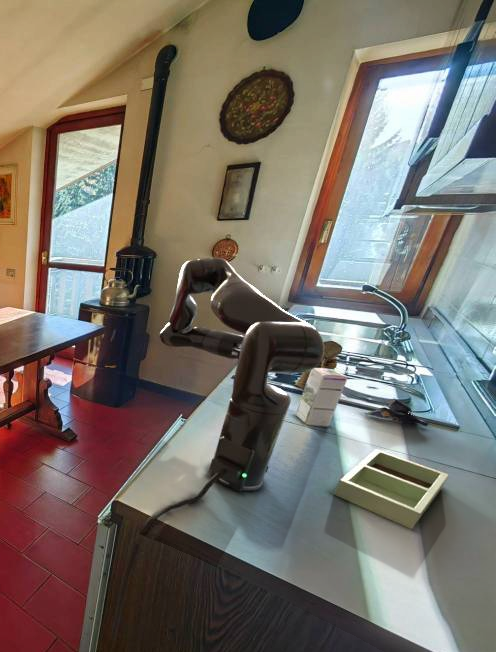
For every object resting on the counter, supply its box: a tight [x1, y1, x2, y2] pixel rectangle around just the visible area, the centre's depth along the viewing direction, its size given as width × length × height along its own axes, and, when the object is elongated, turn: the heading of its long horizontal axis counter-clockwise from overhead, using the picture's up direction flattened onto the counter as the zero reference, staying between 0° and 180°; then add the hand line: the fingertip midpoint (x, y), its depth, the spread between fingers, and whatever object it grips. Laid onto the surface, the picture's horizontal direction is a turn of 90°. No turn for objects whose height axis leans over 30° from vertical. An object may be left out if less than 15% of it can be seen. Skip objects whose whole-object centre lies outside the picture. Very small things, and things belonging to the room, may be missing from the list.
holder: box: [333, 449, 450, 530], centre depth 78 cm, size 21×11×4 cm, turn 123°
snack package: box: [364, 397, 429, 427], centre depth 107 cm, size 12×6×12 cm
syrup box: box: [295, 368, 349, 428], centre depth 103 cm, size 6×6×14 cm
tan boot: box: [295, 340, 343, 390], centre depth 123 cm, size 9×14×18 cm, turn 140°
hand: (281, 358), depth 109 cm, fingers open, 8 cm apart
